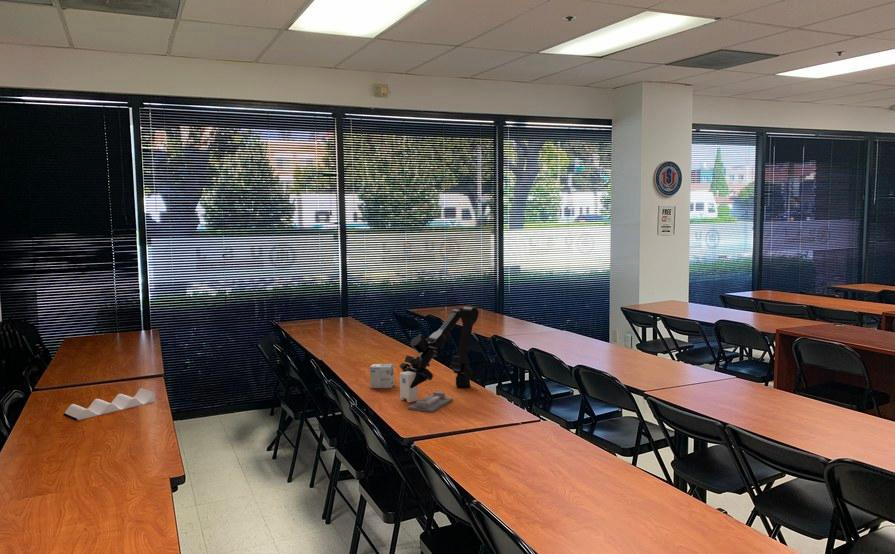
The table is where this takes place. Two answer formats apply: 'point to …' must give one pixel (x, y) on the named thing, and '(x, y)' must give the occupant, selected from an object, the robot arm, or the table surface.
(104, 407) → the grey zigzag strip
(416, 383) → the robot arm
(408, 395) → the block
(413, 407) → the rail plate
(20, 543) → the table surface
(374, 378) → the light bulb box
